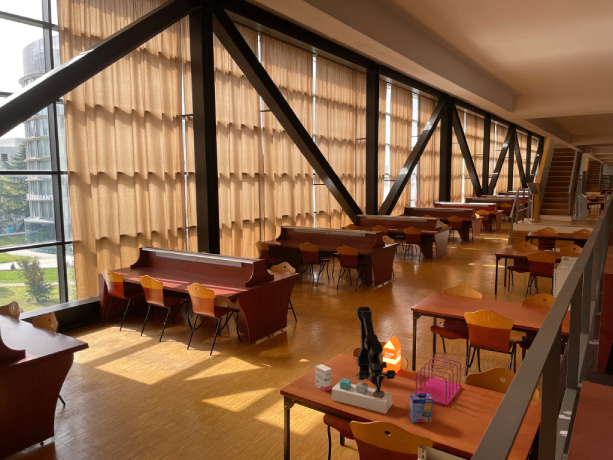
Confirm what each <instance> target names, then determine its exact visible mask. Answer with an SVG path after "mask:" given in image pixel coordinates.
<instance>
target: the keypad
mask: <svg viewBox="0 0 613 460" xmlns="http://www.w3.org/2000/svg"><path fill="white" fill-rule="evenodd" d="M340 381H341V380H339V381H338V382H337V383H336V384H335V385H334V386H332V389H331V401H335V402H339V403H341V404H343V403H344V404H347V405H351V406H353V407H358V408H362V409H366V410H371V411H373V412H377V413H382V414H387V413H388V411H389V410H390V408H391V407H392V405H393V393H392V392H390V391H389V392H388V391H384V390H383V391H384V396H383V398H378V397H374V396H373V393H374V391H375V390H377V389H376V388H373V387H368V389H367V392H366V393H365V394H361V393H357V392H356V385H357V384H355V383H351V388H350V389H349V390H345V389H340Z"/></svg>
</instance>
